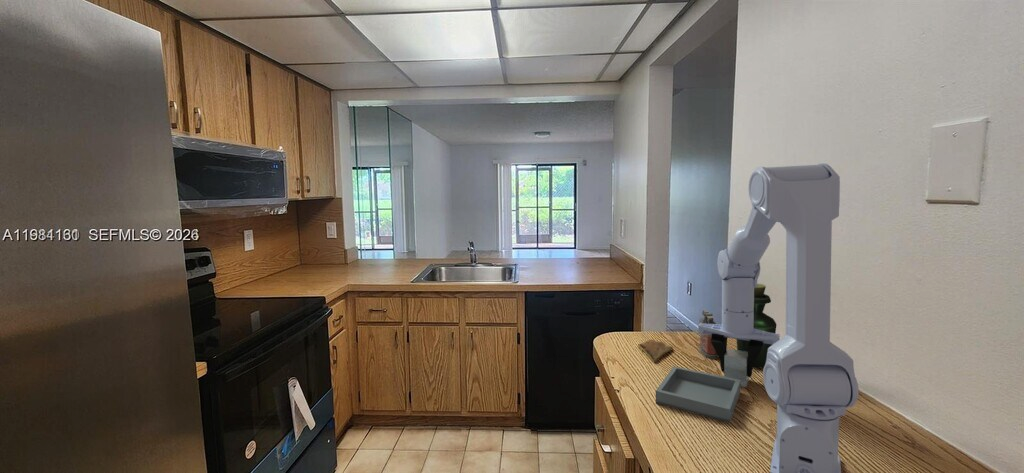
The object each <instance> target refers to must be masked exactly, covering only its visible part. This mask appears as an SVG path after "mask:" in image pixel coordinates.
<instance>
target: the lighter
mask: <svg viewBox="0 0 1024 473" xmlns="http://www.w3.org/2000/svg"><path fill="white" fill-rule="evenodd" d="M701 314H702V316H703V317H699V319H698V323H699V324H700V323H705V324H717V323H716V322H715V321H714V316H713V313H712V312H709V311H708V310H707V309H703V310H702V311H701ZM699 324H698V325H699ZM711 337H712V335H708V334H704V335H701V334H699V343H698V348H699V351H700V354H701V355H703V356H704V357H705V358H706V359H710V360H715V359H718V355H717V353H716V351H715V349H714V347H713V345H712V344H711Z"/></svg>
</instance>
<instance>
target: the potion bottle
mask: <svg viewBox="0 0 1024 473" xmlns="http://www.w3.org/2000/svg"><path fill="white" fill-rule="evenodd" d="M766 288H767V285H765V284H763V283H757V287H756V288H754V323H753V329H757V330H761V331H766V332H770V333H775V334H777V333H776V331H777V322H776V321H775V319H774V318H773V317H771V316H770V315H767V314H766V313H764V310H765V306H766V304H770V303H771V302H772V299H771V297H770V295H768V294H766V293H765V291H766ZM748 343H749V341H746V340H740V339H736V350H740V351H745V352H748V349H747V346H748ZM770 346H772V344H765V343H764V345H763V348H762V350H761V352H760V354H759V355H758V357H757V359H756V361H755V363H754V365H753V368H755V369H756V368H757V369H759V368H760V369H764V366H765V364H766V359H767V352H768V348H769V347H770Z"/></svg>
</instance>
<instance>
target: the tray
mask: <svg viewBox="0 0 1024 473" xmlns="http://www.w3.org/2000/svg"><path fill="white" fill-rule="evenodd" d="M740 384H741V380H737V379H733V378H728V377H724V375H722V376H721V375H717V374H712V373H708V372H703V371H700V370H699V371H698V370H694V369H689V368H684V367H680V366H673V367H672V368H671V370H670V371H669V372H668V373H667V375H666V376H665V377H664V379H663V380H662V382H661V383H660V384H659V386H658V387H657V388H656V390H655V404H658V405H661V406H665V407H668V408H673V409H676V410H679V411H684V412H688V413H691V414H695V415H698V416H702V417H705V418H708V419H713V420H716V421H720V422H724V423H728V424H730V423H731V420H732V417H733V415H734V412H735V408H736V406H737V403H738V401H739V397H740V394H741V386H740Z"/></svg>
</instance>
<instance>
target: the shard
mask: <svg viewBox="0 0 1024 473" xmlns="http://www.w3.org/2000/svg"><path fill="white" fill-rule="evenodd" d="M637 347H638V348H639V349H640V350H641V351H643V353H644V355H645V356H646V357H647V358H648V359H649V360H650V362H652V363H654V364H655V363H656V362H658V361H659V359H661V358H663V356H664V355H666V354H667V353H669V352H670V351H673V348H674V346H672V345H670V344H668V343H666V342H663V341H659V340H655V339H646V341H644V342H643V341H642V343H638V344H637Z"/></svg>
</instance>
